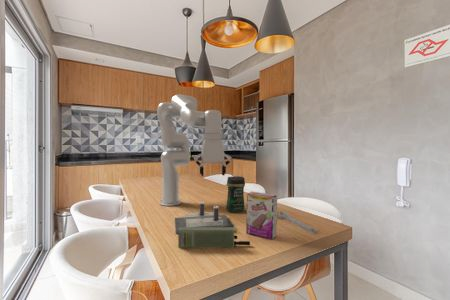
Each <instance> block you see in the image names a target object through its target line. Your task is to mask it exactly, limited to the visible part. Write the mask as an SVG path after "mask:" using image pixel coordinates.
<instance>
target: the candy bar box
mask: <svg viewBox="0 0 450 300" xmlns="http://www.w3.org/2000/svg"><path fill="white" fill-rule="evenodd" d="M277 213H278V195H277V194H272V193H264V192H259V191H250V192H247V194H246V225H245V226H246V230H245V231H246V234H248V235H252V236H256V237H260V238H263V239H268V240H273V239H274V238H275V237H277V223H278V222H277V221H278V220H277V218H278V217H277Z"/></svg>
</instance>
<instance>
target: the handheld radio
mask: <svg viewBox="0 0 450 300" xmlns="http://www.w3.org/2000/svg"><path fill="white" fill-rule="evenodd" d="M237 230H238V227H235V226H234V227H187V228H179V229H178V234H177V235H178V239H177V240H178V242H177V243H178V244H177V245H178V246H177V247H178V248H180V249H182V248H184V249H186V248H187V249H189V248H190V249H192V248H195V249H198V248H201V249H203V248H209V249H210V248H211V249H212V248H214V249H215V248H216V249H218V248H220V249H221V248H222V249H223V248H224V249H225V248H228V249H229V248H235V246H237V245H238V246H250V245H251V242H250V240H241V241H239V240H238V241H236V240H237V239H238V238H239V237H238V235H235V234H238V231H237Z"/></svg>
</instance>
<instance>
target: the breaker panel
mask: <svg viewBox="0 0 450 300" xmlns="http://www.w3.org/2000/svg"><path fill="white" fill-rule="evenodd" d="M199 214H200V212H191V213H190V212H189V213H184V216H182V217H175V218H174V227H175V231H174V232H175V234H176V235H178V229H179V228H187V227H235V225H234V224H233V223H232V221H231V220H230V218H229V217H228V216H227V215H226V214H219V220H215V221H213V219H214V211H208V212H206V211H204V215H199Z"/></svg>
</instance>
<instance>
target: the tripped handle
mask: <svg viewBox="0 0 450 300" xmlns="http://www.w3.org/2000/svg"><path fill="white" fill-rule="evenodd" d="M204 212H205V202H204V201H199V213H200V214H199V215H204Z"/></svg>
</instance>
